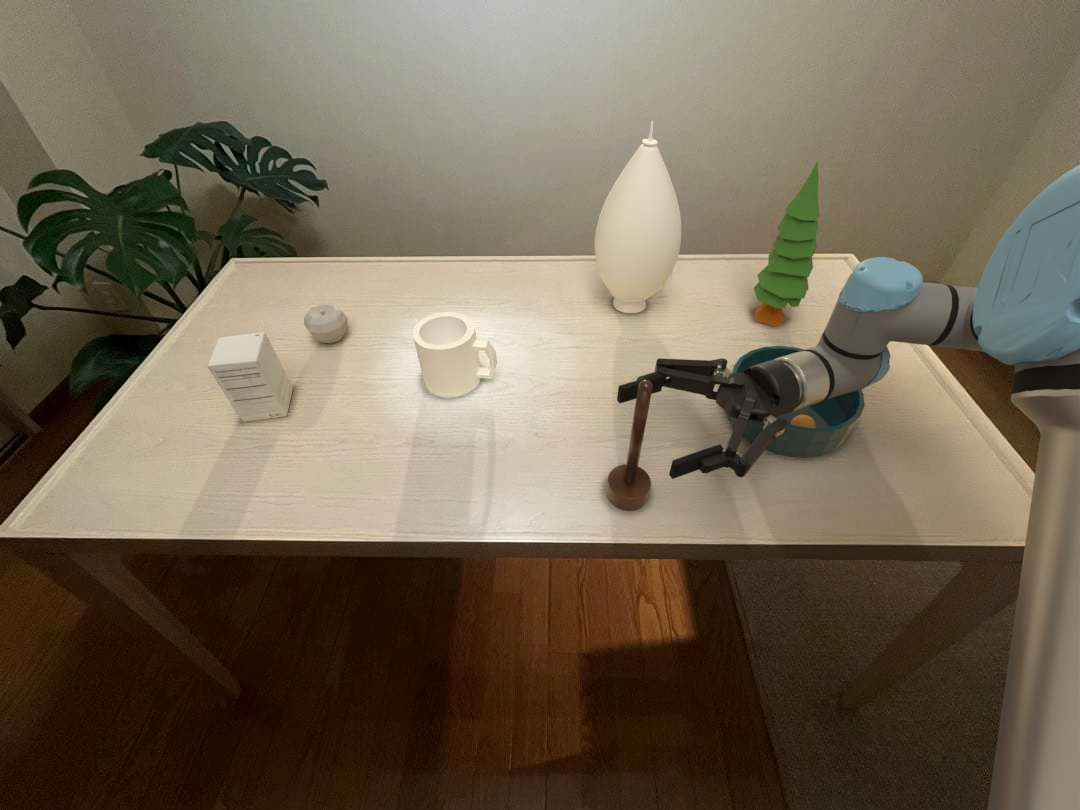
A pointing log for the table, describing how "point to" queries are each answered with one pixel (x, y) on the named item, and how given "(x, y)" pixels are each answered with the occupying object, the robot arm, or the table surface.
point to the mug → (451, 354)
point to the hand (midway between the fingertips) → (643, 429)
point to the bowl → (828, 415)
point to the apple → (326, 323)
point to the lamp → (638, 230)
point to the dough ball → (803, 421)
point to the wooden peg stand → (632, 461)
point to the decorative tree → (790, 256)
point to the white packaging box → (251, 376)
